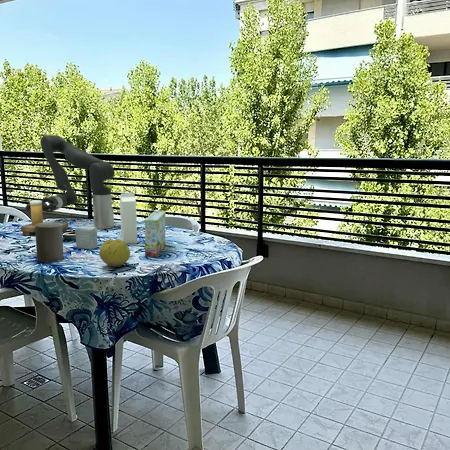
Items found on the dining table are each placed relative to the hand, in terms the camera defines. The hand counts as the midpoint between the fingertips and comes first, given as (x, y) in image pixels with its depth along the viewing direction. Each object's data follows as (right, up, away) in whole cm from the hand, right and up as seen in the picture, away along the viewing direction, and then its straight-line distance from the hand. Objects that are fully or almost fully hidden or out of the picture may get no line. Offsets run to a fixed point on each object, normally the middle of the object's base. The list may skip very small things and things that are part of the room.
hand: (34, 208), depth 217 cm
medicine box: (+32, -18, -24) cm, 44 cm away
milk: (+48, -16, -13) cm, 52 cm away
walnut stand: (+4, -12, +3) cm, 13 cm away
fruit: (+51, -23, -50) cm, 75 cm away
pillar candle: (+24, -21, -42) cm, 52 cm away
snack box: (+62, -19, -27) cm, 70 cm away
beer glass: (0, -8, +3) cm, 8 cm away
